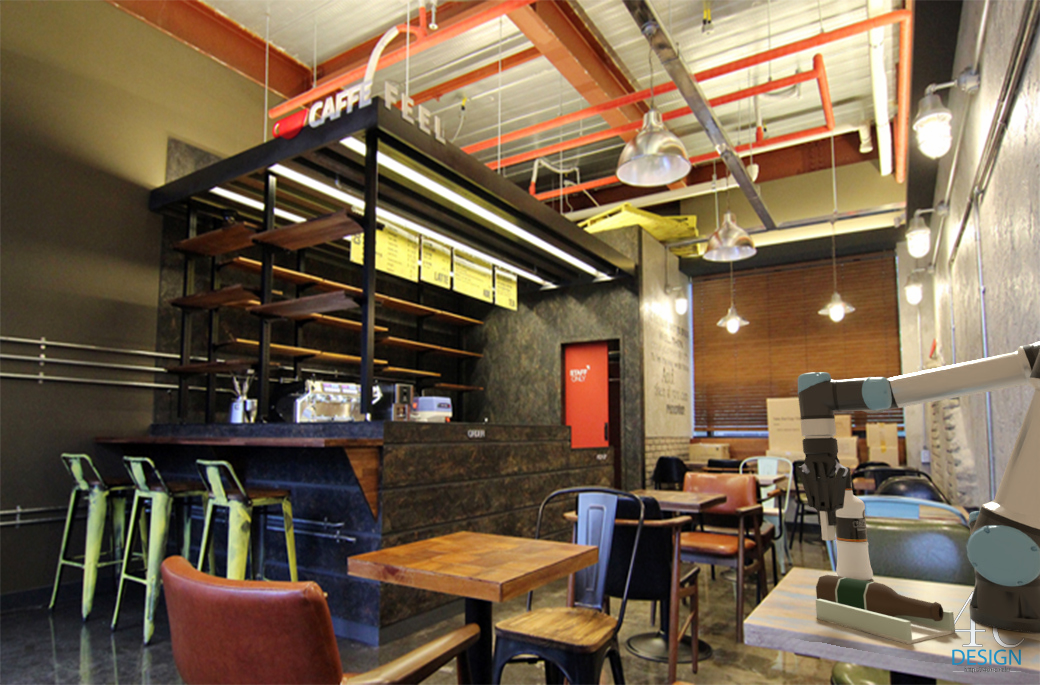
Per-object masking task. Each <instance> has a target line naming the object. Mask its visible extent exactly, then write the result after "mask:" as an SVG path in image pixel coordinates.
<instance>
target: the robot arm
mask: <svg viewBox="0 0 1040 685" xmlns="http://www.w3.org/2000/svg"><path fill="white" fill-rule="evenodd" d="M1023 386H1028V387H1030V388H1032V389H1034V391H1033V395H1032V397H1031V400H1030V403H1029V406H1028V408H1027V411H1026V413H1025V416H1024V418H1023V421H1022V423H1021V427H1020V429H1019V432H1018V435H1017V438H1016V439H1015V442H1014V445H1013V449H1012V451H1011V454H1010V457H1009V459H1008V462H1007V464H1006V466H1005V469H1004V473H1003V475H1002V478H1001V481H1000V483H999V486H998V488H997V491H996V493H995V497H994V499H992V500H991V501H989V502H986V503H983V504H981V508H980V510H979V511H978V510H977V511H976V510H975V511H971V512H970V513H969V514H968V521H967V524H968V527H969V532H970V536H969V537H968V539H967V541H966V546H965V547H966V548H965V549H966V556H967V559H968V560H969V562H970V563H969V564H971V566H972V567H973V569H974V576H975V583H974V588H973V592H972V595H971V600H970V603H969V606H968V608H969V616H970V619H971V620H973V621H974V622H976V623H979V624H982V625H984V626H985V625H986V626H988V627H993V628H998V629H1001V630H1002V629H1003V630H1006V631H1007V630H1008V631H1013V632H1014V631H1015V632H1020V633H1021V632H1023V633H1034V634H1040V340H1039V341H1036V342H1033V343H1032V342H1031V343H1029V344H1025V345H1024V344H1023V345H1019V347H1018V348H1017V350H1016V351H1014V352H1013V351H1012V352H1009V353H1004V354H999V355H994V356H991V357H984V358H980V359H976V360H974V359H973V360H970V361H965V362H960V363H956V364H951V365H945V366H940V367H936V368H931V369H925V370H921V371H918V372H912V373H907V374H903V375H898V376H897V375H896V376H893V377H888V378H886V377H884V376H876V377H875V376H868V377H858V378H849V379H847V378H846V379H832V377H831V374H830V373H829V372H826V371H825V372H824V371H823V372H819V371H818V372H805V373H802V374H800V375H798V377H797V397H798V405H799V415H800V417H799V418H800V429H801V436H802V437H804V438H803V439H802V449H803V450H802V452H803V454H804V455H805V458H804V463H803V464H802V465H801V466H797V467H796V468H795V469H796V472H797V473H798V475H799V476H800V479H801V484H802V486H803V490H804V493H805V497H806V500H807V504H808V506H809V508H813V509H815V510H816V513H817V522H818V524H819V525H820V527H821V539H822V541H828V542H829V541H836V540H837V539H836V528H835V525H836V524H837V521H836V510H838V509H842V508H843V506H844V497H845V489H846V480H847V476H848V474H849V472H851V468H850V467H845V466H844V465H843V464H841V463H840V459H839V458H838V453H839V446H838V439H837V438H836V437H834V436H836V435H837V428H836V419H835V418H836V416H835V412H838V413H839V412H861V411H862V412H865V413H867V414H880V413H882V412H885V411H889V410H896V409H900V408H904V407H911V406H915V405H921V404H927V403H933V402H938V401H945V400H950V399H955V398H961V397H967V396H974V395H978V394H984V393H990V392H995V391H1000V390H1006V389H1011V388H1017V387H1023Z"/></svg>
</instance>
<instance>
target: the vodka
mask: <svg viewBox="0 0 1040 685" xmlns="http://www.w3.org/2000/svg"><path fill="white" fill-rule="evenodd" d="M865 508H866V505H865V502H864V501H863V500H862V499H861V498H860V497H858V496H856V495H854V492H853V483H852V473H851V471H850V472H849V474H848V476H847V480H846V489H845V497H844V506H843V508H842V509H838V510H836V521H837V524H836V525H835V526H834V527H835V537H836V540H835V544H836V551H837V552H836V555H837V556H836V557H837V559H836V570H835V571H836V572H835V573H836V576H840V577H846V578H852V579H858V580H864V581H870V580H872V579H873V578H874V573H873V572H874V571H873V569H872V567H871V561H870V555H869V542H868V533H867V531H868V530H867V519H866V509H865Z"/></svg>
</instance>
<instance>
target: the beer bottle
mask: <svg viewBox="0 0 1040 685" xmlns="http://www.w3.org/2000/svg"><path fill="white" fill-rule="evenodd" d="M815 592H816V599H823V600H827V601H831V602H835V603H839V604H843V605H847V606H851V607H855V608H859V609H863V610H867V611H871V612H875V613H879V614H883V615H887V616H892V617H895V616H897V615H901V616H912V617H919V618H927V619H933V620H934V621H941V620H942V619H943V610H944V608H943V605H942V604H941V603H939V602H938V601H935V602H930V601H926V600H922V599H918V598H912V597H908V596H904V595H903V594H902V595H901V594H900V593H898V592H896V591H895V590H894V588H892V587H890V586H888V585H886V584H884V583H880V582H875V581H870V580H868V581H864V580H858V579H852V578H846V577H840V576H838V575H831V574H826V575H821V576H820V577H818V580H817V583H816V585H815Z"/></svg>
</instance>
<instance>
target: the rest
mask: <svg viewBox="0 0 1040 685" xmlns="http://www.w3.org/2000/svg"><path fill="white" fill-rule="evenodd" d="M815 608H816V609H815V610H816V619H817V620H821V621H824V622H826V623H831V624H835V625H839V626H842V627H845V628H849V629H853V630H856V631H859V632H862V633H867V634H871V635H873V636H874V635H875V636H878V637H882V638H885V639H889V640H891V641H895V642H899V643H902V644H907V645H910V644H915V643H918V642H922V641H927V640H930V639H934V638H938V637H942V636H946V635H947V636H948V635H951V634H955V633H956V626H955V624H956V623H955V617H954V616H955V615H954V611H950V610H946V609H943V619H942V620H941V621H934V620H933V619H927V618H919V617H912V616H901V615H897V616H895V617H892V616H887V615H883V614H879V613H875V612H871V611H867V610H863V609H859V608H855V607H851V606H847V605H843V604H839V603H835V602H831V601H827V600H823V599H817V598H815Z"/></svg>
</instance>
